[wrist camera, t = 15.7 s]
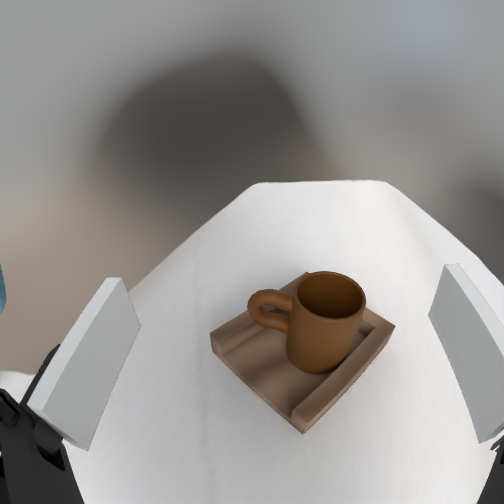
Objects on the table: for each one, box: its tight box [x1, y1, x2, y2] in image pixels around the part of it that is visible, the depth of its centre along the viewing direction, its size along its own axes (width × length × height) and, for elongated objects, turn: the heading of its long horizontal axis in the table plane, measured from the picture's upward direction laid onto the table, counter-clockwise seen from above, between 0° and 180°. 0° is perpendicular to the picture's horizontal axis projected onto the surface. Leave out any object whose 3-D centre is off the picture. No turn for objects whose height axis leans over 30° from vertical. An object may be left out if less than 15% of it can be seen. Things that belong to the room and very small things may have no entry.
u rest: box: [210, 272, 395, 434], centre depth 33 cm, size 15×17×4 cm
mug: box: [247, 271, 366, 374], centre depth 31 cm, size 12×8×9 cm, turn 83°
